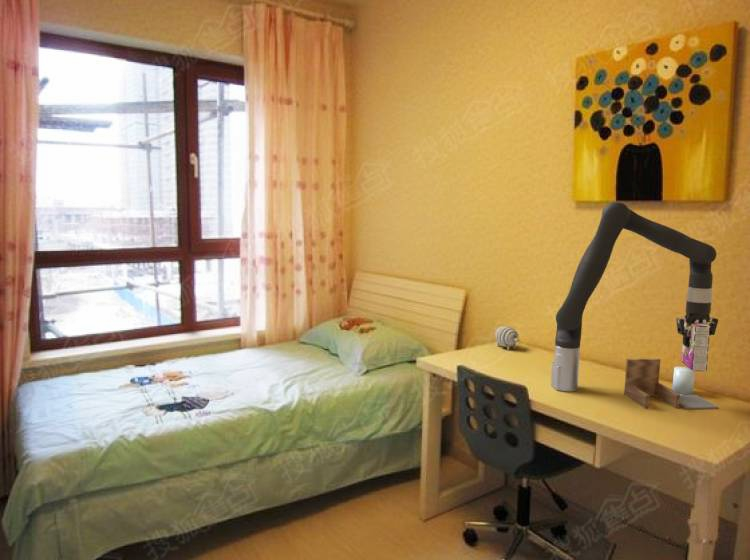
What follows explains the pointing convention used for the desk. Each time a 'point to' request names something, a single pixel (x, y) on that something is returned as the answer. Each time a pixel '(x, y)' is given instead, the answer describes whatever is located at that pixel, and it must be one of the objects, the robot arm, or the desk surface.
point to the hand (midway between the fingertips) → (695, 346)
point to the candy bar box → (697, 347)
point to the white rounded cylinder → (683, 380)
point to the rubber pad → (695, 402)
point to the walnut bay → (647, 383)
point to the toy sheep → (506, 337)
